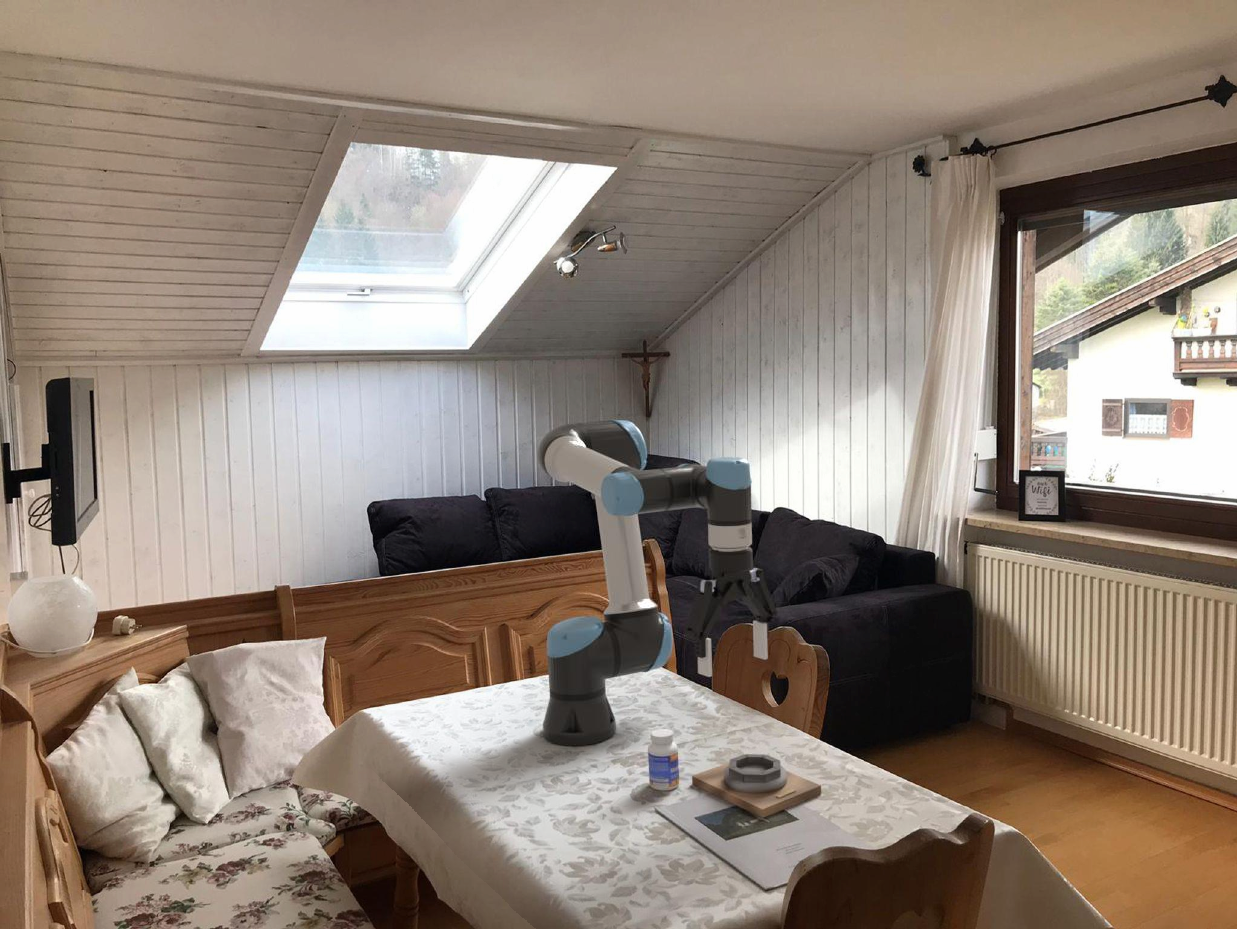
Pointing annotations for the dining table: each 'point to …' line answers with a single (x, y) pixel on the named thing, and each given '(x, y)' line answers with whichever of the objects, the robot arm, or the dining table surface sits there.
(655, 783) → the pill bottle
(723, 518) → the robot arm
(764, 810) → the hub board
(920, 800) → the dining table surface
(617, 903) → the dining table surface
